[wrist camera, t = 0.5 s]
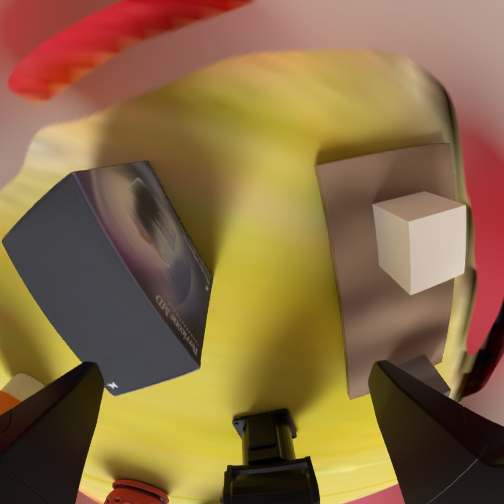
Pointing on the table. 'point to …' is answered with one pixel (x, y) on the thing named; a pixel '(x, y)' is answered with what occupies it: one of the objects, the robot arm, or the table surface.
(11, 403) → the reusable coffee cup
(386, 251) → the off-white block
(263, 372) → the table surface
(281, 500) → the robot arm
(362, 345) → the walnut strip
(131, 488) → the plant pot
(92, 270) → the small box
